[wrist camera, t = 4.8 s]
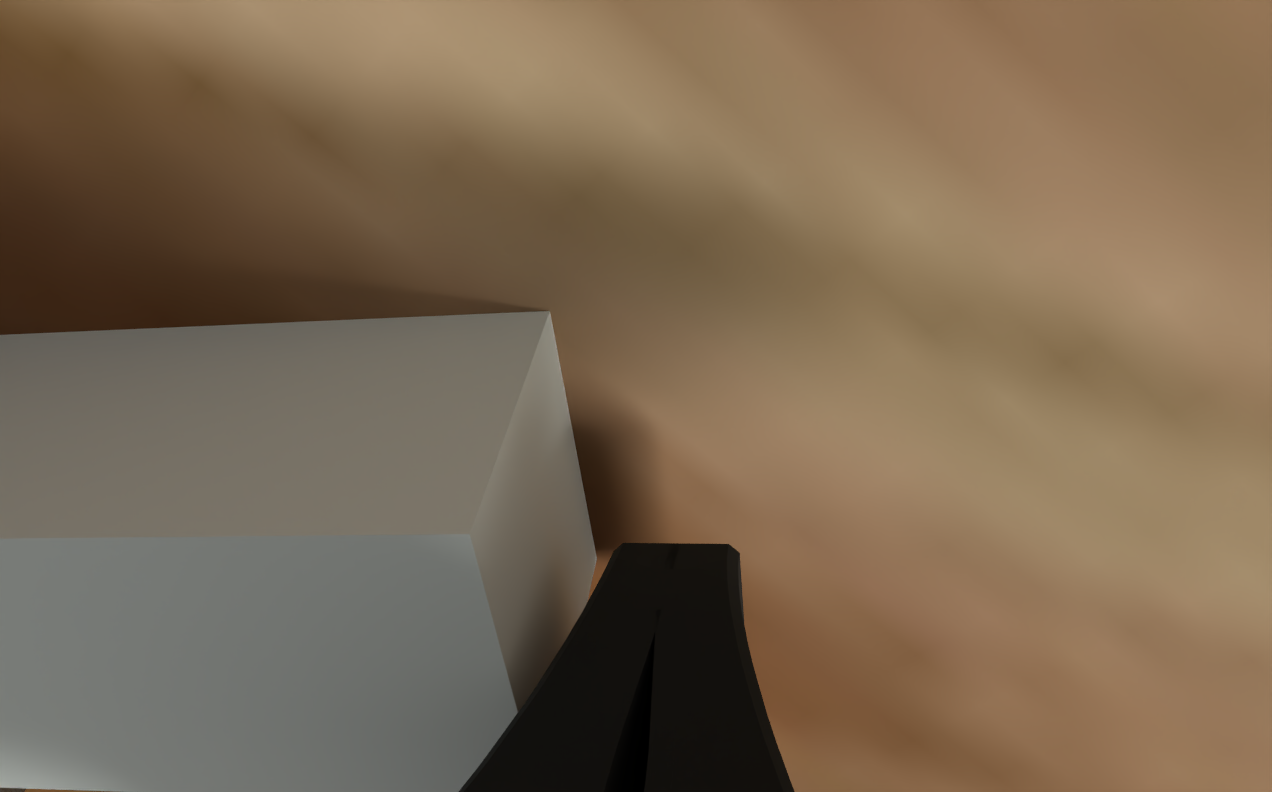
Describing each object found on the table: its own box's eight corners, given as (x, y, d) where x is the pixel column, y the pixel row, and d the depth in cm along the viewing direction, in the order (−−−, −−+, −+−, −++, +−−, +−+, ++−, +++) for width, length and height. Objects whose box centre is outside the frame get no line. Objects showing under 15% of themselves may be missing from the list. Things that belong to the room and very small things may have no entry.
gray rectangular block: (597, 558, 14) (542, 805, 11) (-245, 562, 16) (-471, 773, 13) (550, 310, 12) (470, 534, 9) (-402, 351, 14) (-706, 544, 11)
